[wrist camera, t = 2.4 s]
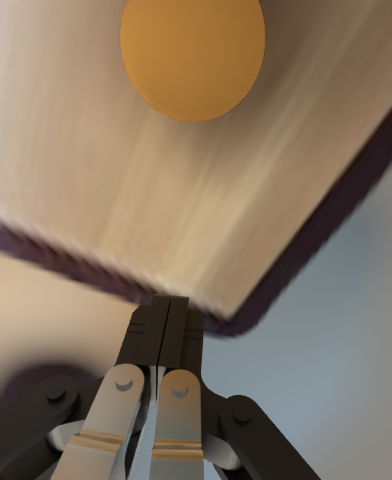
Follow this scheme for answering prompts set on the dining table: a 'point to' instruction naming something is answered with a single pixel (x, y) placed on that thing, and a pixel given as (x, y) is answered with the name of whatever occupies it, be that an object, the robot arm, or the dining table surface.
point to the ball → (192, 54)
